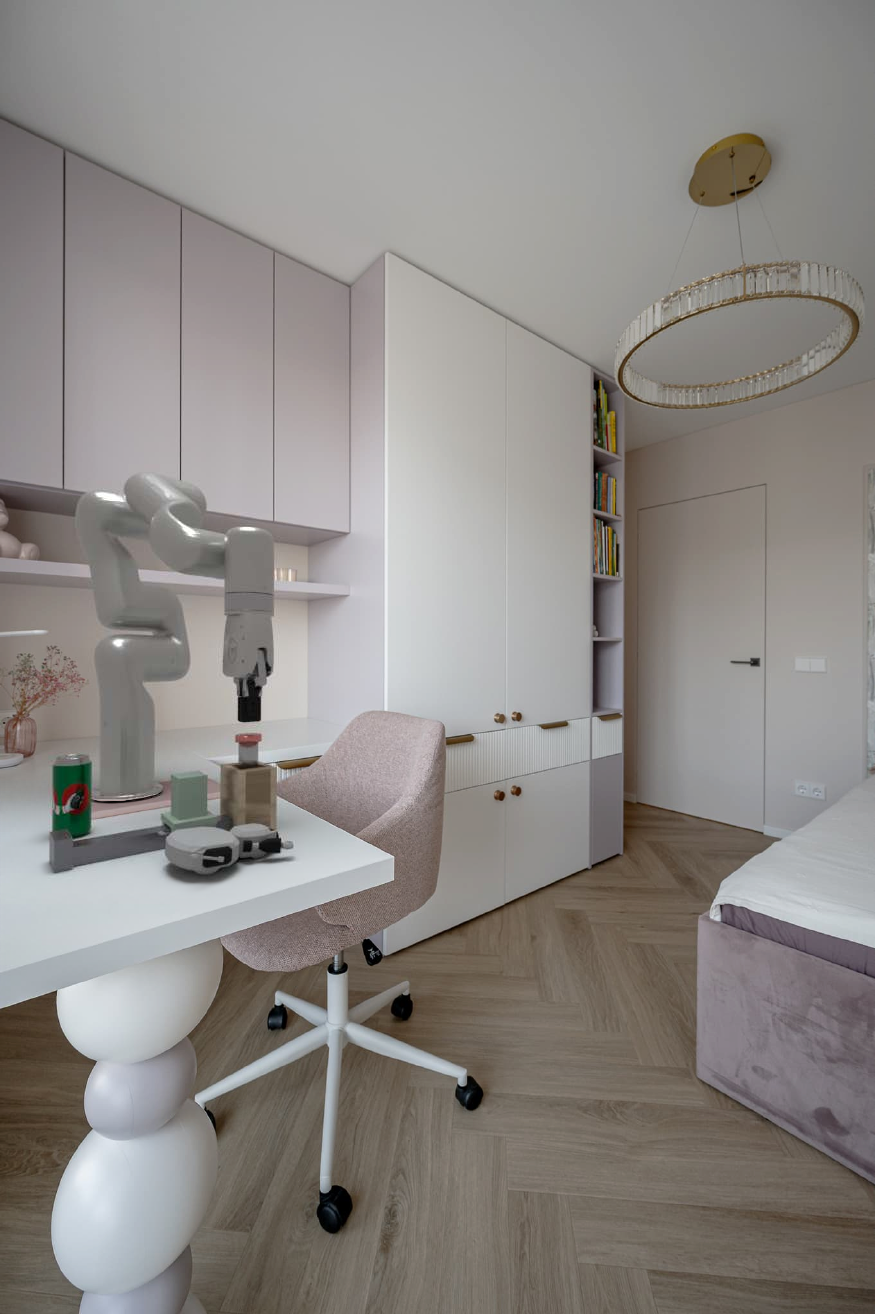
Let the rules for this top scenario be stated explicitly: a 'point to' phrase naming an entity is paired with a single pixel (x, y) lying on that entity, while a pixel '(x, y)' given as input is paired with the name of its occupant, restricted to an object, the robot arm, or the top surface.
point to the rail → (110, 845)
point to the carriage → (189, 802)
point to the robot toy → (220, 846)
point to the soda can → (72, 794)
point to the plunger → (248, 750)
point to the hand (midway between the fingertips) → (249, 721)
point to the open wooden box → (249, 794)
